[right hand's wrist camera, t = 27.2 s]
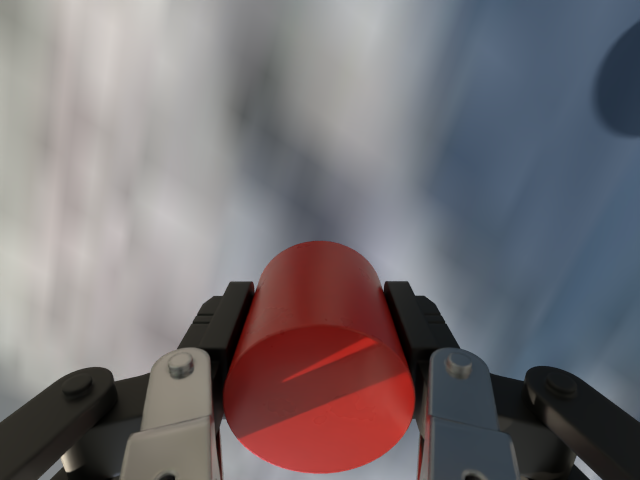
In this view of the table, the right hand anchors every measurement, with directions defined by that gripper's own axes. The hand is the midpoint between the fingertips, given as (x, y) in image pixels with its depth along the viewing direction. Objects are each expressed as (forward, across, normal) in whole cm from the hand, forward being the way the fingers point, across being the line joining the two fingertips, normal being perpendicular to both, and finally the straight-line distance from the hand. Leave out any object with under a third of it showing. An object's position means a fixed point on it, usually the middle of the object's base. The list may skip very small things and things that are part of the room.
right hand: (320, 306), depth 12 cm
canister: (0, 0, 0) cm, 0 cm away
